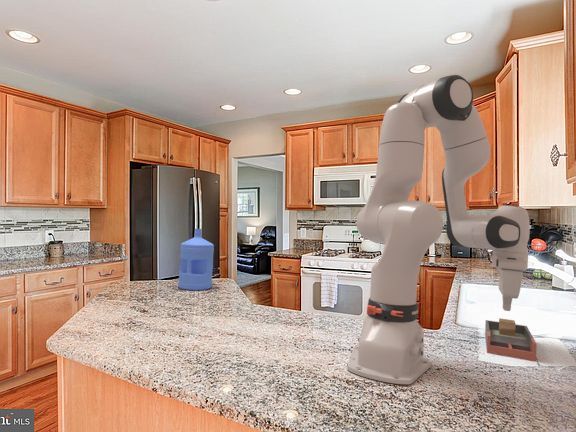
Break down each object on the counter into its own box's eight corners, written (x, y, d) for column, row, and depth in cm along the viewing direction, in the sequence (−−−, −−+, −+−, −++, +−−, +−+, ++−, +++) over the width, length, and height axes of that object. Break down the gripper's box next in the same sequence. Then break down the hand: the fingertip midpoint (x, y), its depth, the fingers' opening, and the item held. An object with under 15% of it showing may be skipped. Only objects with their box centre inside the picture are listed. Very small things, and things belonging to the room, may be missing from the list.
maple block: (515, 336, 106) (515, 323, 107) (499, 334, 108) (499, 320, 108) (513, 333, 110) (514, 320, 110) (498, 331, 112) (499, 318, 112)
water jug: (189, 283, 182) (192, 228, 182) (217, 286, 177) (220, 229, 178) (171, 288, 167) (174, 228, 167) (201, 291, 162) (205, 229, 163)
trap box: (536, 361, 92) (536, 343, 92) (486, 352, 97) (487, 335, 97) (526, 340, 110) (526, 325, 110) (485, 334, 115) (485, 320, 115)
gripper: (495, 259, 115) (492, 303, 115) (498, 262, 97) (495, 313, 96) (518, 262, 112) (515, 306, 112) (526, 264, 94) (523, 318, 94)
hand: (506, 310), depth 104 cm, fingers closed
